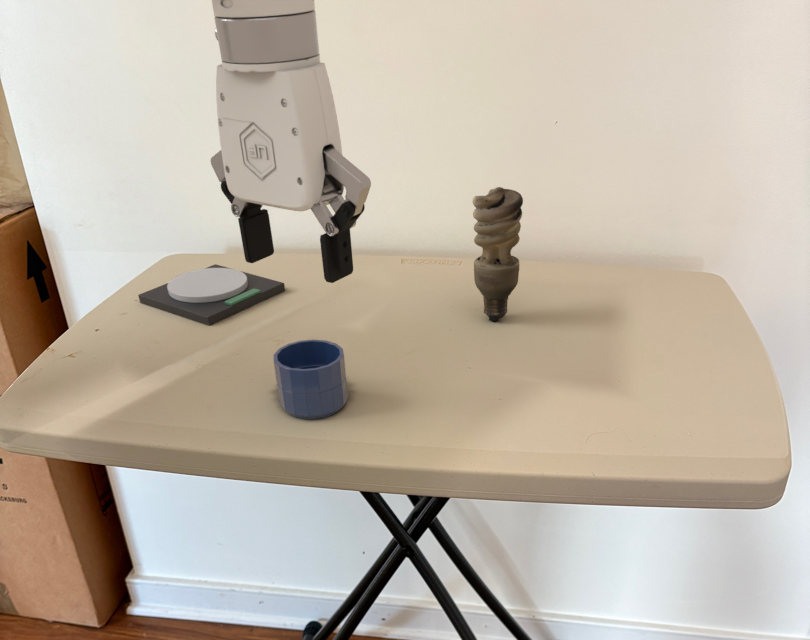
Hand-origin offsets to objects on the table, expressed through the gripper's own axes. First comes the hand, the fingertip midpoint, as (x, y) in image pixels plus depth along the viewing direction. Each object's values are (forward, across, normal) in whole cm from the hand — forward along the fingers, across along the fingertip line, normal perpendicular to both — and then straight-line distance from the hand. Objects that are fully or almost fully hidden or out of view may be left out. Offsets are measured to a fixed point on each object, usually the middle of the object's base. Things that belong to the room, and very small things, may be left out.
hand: (298, 267), depth 68 cm
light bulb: (+14, +4, +28) cm, 31 cm away
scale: (+14, -28, +12) cm, 33 cm away
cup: (+14, 0, 0) cm, 14 cm away
